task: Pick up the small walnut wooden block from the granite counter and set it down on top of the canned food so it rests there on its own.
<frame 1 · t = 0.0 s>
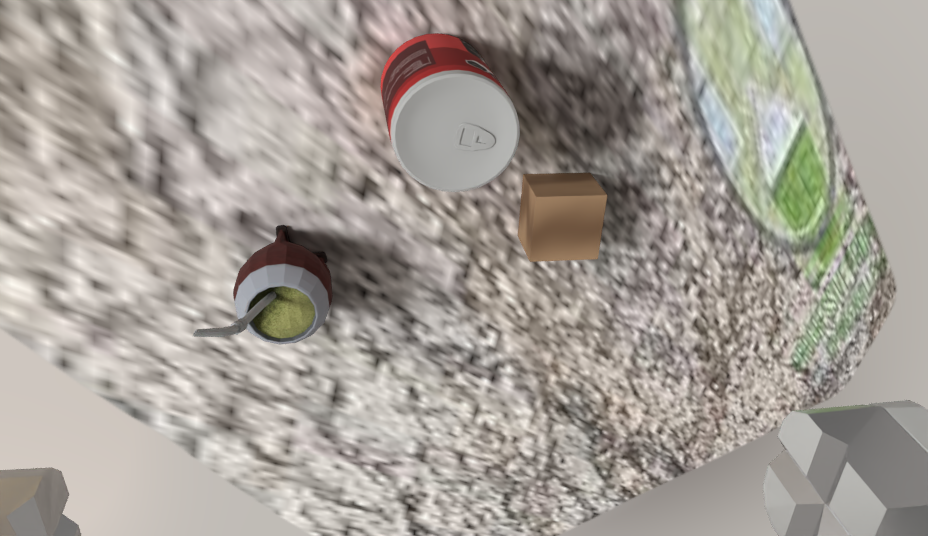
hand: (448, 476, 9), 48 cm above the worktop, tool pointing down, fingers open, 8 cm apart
walnut block: (553, 204, 62), on the worktop
mate gourd: (280, 256, 60), on the worktop
canned food: (434, 83, 55), on the worktop
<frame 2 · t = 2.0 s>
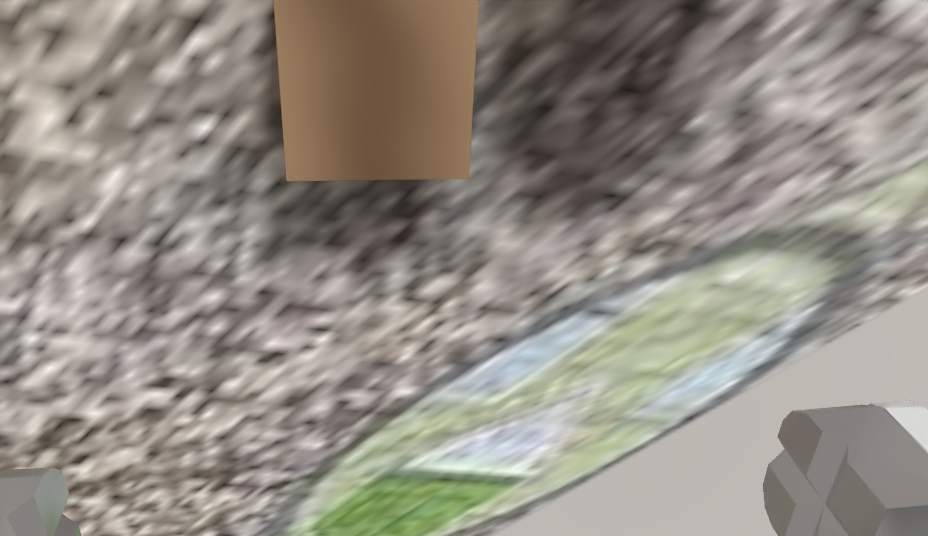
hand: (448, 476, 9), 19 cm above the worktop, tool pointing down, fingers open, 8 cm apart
walnut block: (371, 51, 25), on the worktop
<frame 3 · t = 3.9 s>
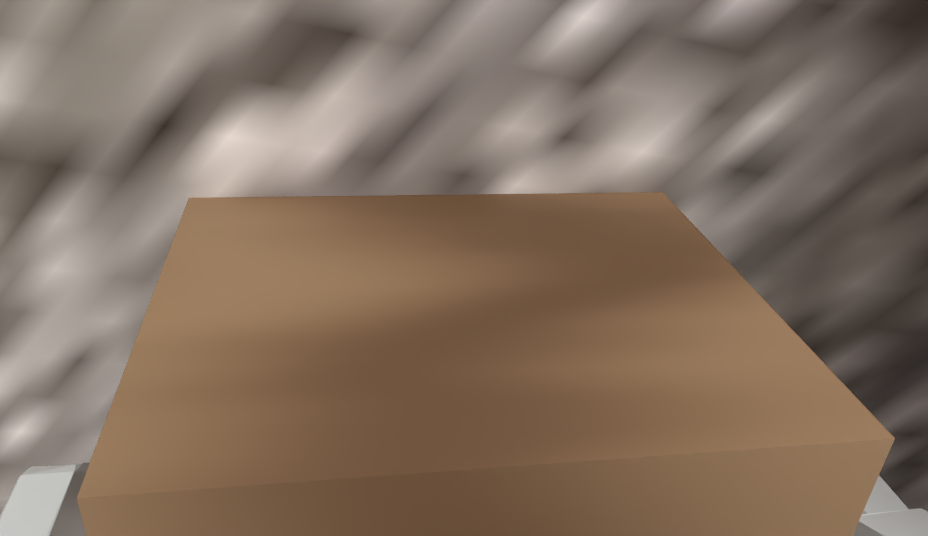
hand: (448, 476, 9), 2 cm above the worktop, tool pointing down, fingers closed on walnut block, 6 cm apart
walnut block: (428, 378, 10), on the worktop, touching gripper
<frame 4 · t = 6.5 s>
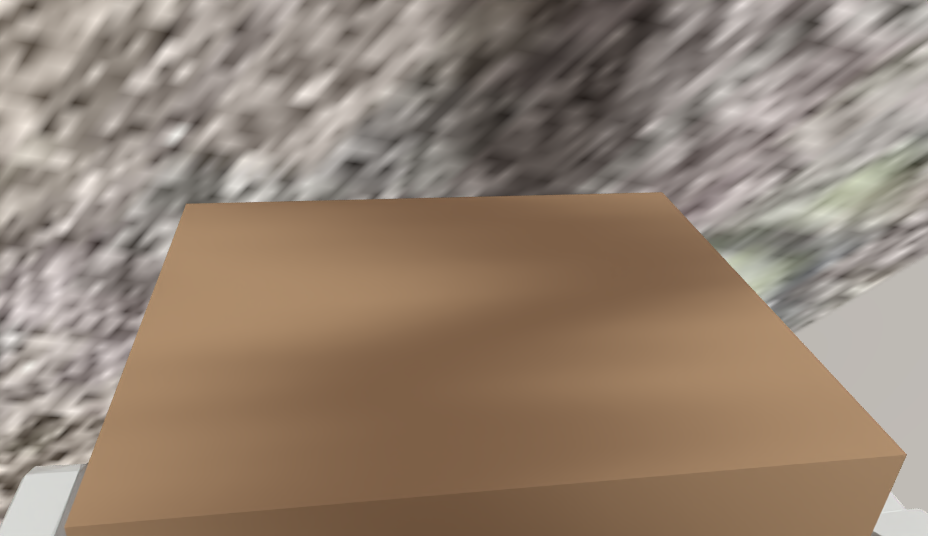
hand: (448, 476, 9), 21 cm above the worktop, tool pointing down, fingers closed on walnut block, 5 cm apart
walnut block: (430, 387, 10), point 19 cm above the worktop, touching gripper
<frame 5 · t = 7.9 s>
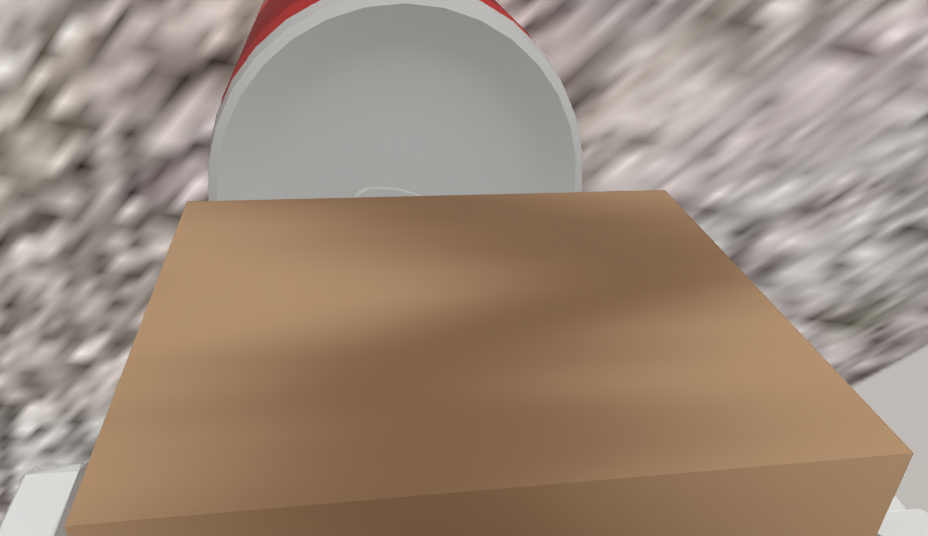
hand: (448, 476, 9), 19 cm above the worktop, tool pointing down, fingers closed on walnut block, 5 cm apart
walnut block: (432, 385, 10), point 17 cm above the worktop, touching gripper
canned food: (374, 55, 25), on the worktop
when the fingers open (14 cm above the worktop, at t = 9.1 s): walnut block drops 1 cm, resting on canned food.
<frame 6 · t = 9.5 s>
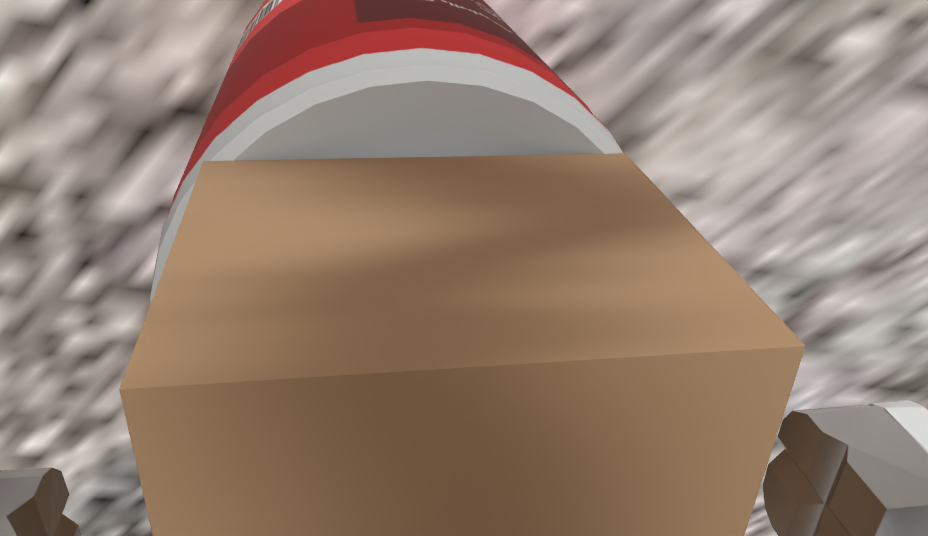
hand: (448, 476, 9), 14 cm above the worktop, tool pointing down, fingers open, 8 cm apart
walnut block: (420, 332, 11), point 11 cm above the worktop, touching canned food
canned food: (375, 101, 21), on the worktop, touching walnut block
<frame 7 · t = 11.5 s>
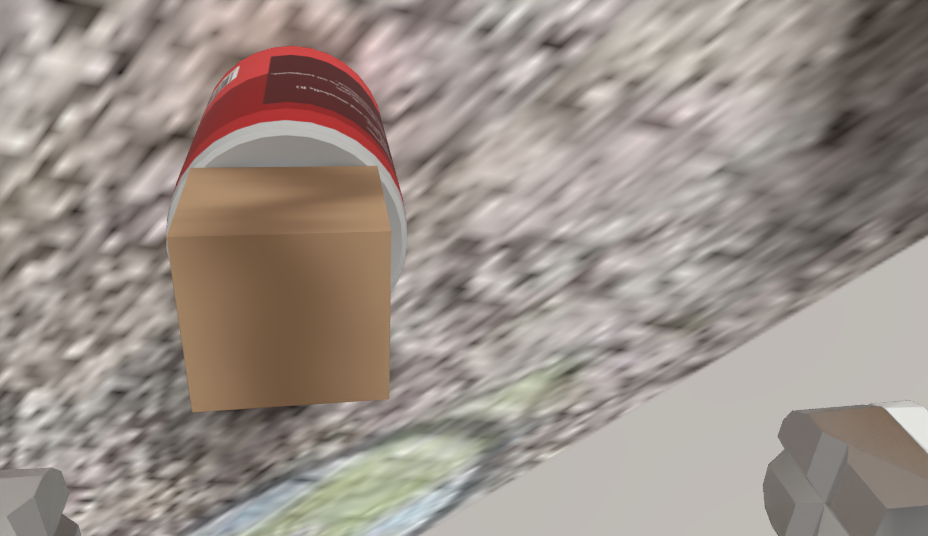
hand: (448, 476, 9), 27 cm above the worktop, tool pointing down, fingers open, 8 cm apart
walnut block: (290, 247, 24), point 11 cm above the worktop, touching canned food
canned food: (295, 130, 34), on the worktop, touching walnut block
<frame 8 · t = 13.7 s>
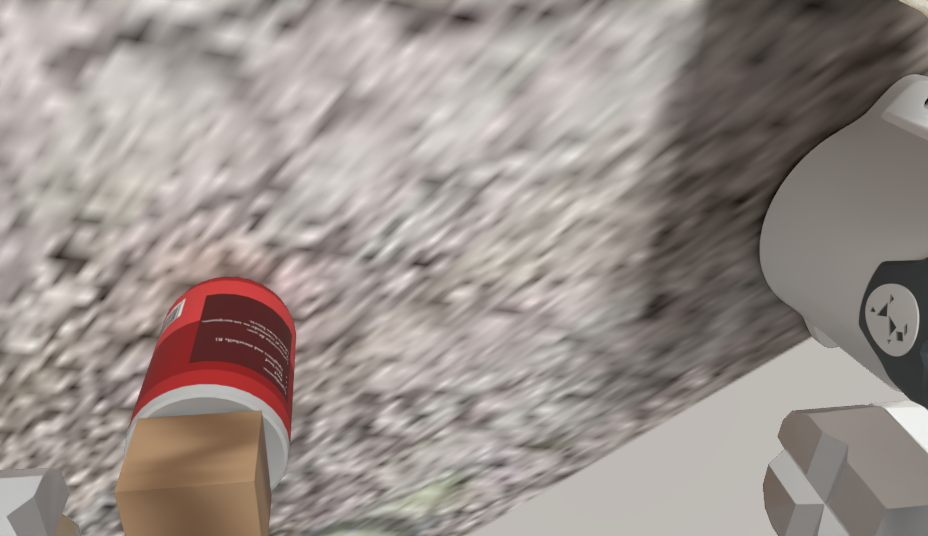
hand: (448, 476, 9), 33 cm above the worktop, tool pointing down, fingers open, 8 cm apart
walnut block: (207, 458, 36), point 11 cm above the worktop, touching canned food
canned food: (232, 327, 46), on the worktop, touching walnut block
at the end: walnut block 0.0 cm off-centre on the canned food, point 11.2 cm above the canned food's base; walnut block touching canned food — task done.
